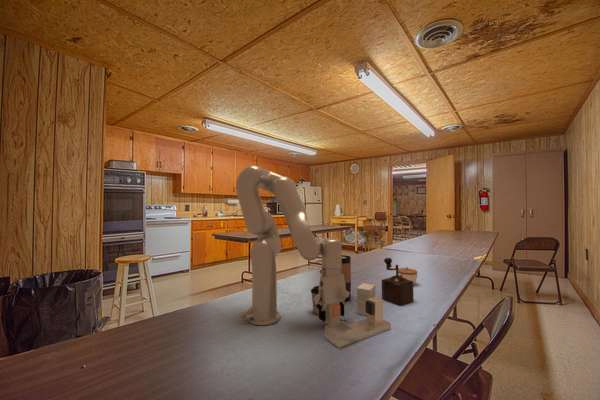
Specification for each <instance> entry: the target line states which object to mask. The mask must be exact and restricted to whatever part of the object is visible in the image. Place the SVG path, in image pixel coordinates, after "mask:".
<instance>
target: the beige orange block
mask: <svg viewBox="0 0 600 400" xmlns="http://www.w3.org/2000/svg"><path fill="white" fill-rule="evenodd" d="M324 310H325V311H326V321H325V322H324V323H325V325H328V324H332V323H335V322H338V321H341V319H340V317H341V315H340V304H339V303H335V304H331V305H326V307H325V309H324Z"/></svg>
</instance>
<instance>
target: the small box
mask: <svg viewBox="0 0 600 400" xmlns="http://www.w3.org/2000/svg"><path fill="white" fill-rule="evenodd" d="M373 297H375V298H376V285H375V284H371V283H366V282H365V283H364V282H362V283H361V284H360V285H359V286H358V287H357V288H356V310H357V311H356V313H357V314H359V315H364V316H367V313H366V301H367V299H369V298H373Z"/></svg>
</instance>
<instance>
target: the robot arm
mask: <svg viewBox="0 0 600 400" xmlns="http://www.w3.org/2000/svg"><path fill="white" fill-rule="evenodd" d="M237 176H238V177H237V178H236V182H235V190H236V194H237V197H238V201H239V205H240V210H241V213H242V214H241V215H242V217H243V220H244V224H245V228H246V230H247V232H248V233H249V234H250V235H253V236H256V239H257V240H255V241H254V242H253V243H252V245H251V247H250V261H251V262H250V263H251V282H252V284H251V287H252V288H251V289H252V290H251V297H252V298H251V302H252V303H251V306H250V307H249V309H247V311H241V312H239V318H240V319H242V318H245V319H246V320H247V321H248V322H249V323H250V324H252V325H255V326H269V325H274V324H275V323H276V324H277V323H278V322H279V321H280V320H281V318H282V317H281V313H280V312H279V311H277V309H278V306H277V305H278V303H277V301H278V296H277V295H278V292H277V291H278V290H277V286H278V285H277V284H278V283H277V282H278V281H277V279H278V278H277V273H278V272H277V263H276V257H277V256H278V255H279V254H280V252H281V250H282V241H281V238H280V235H279V230H278V227H277V224H276V221H275V219H274V217H273V215H272V213H270V212H268V211H266V210H265V209H264V205H263V201H262V197H261V195H260V194H259V192H258V191H259V190H258V189H261V190H263V191H266V192H269V193H271V194H274V196H275V199H276V201H277V203H278V205H279V207H280V210H281V211H282V214H283V216H284V218H285V221H286V225H287V227H288V231H289V234H290V236H291V238H292V240H293V243H294V245H295V247H296V249H297V251H298V253H299V255H300V256H301V257H302V258H303V259H304V260H306V261H315V260H316V259H317V258H318V257H319V256H321V269H320V270H319V274H320V277H319V281H318V282H319V283H318V286H319V294H318V295H317V296H316V297H315V298H314V299H313V302H312V304H313V303H314V304H315V306H316V307H317V308H318V309H319V314H318V318H319V320H320V321H322V322H323V323H325V321H326V311H325V310H324V309H325V307H326V305H331V304H335V303H339V304H340V317H345V306H346V304H347V302H346V301H347V300H348V296H349V294H350V292H348V291H347V290H346V286H345V279H344V275H343V274H342V255H343V253H342V251H343V249H342V248H343V247H342V246H343V244H342V241H341V239H340V238H336V237H326V238H324V237H318V236H317V237H316V236H314V234H313V232H312V229H311V226H310V224H309V222H308V213H307V208H306V207H305V205H304V203H303V201H302V199H301V197H300V195H299V193H298V190H297V188H298V187H297V184H296V182H295V181H294V180H293V179H292V178H290V177H289V176H285V175H281V174H278V173H275V172H273V171H270V170H269V169H265V168H264V167H262V166H259V165H255V164H254V165H252V164H251V165H248V166H246V167H245V168H243V169H242V170H241V171H240V173H239V174H238V175H237ZM318 301H320V303H318ZM323 303H324V304H323ZM322 304H323V306H322Z"/></svg>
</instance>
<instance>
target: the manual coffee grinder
mask: <svg viewBox="0 0 600 400" xmlns="http://www.w3.org/2000/svg"><path fill="white" fill-rule="evenodd" d="M383 262H384V264H385V265H386V266H385V268H386V270H387V271H395V275H393V276H391V277H387V278H383V279H381V300H383V301H384V302H387V303H390V304H393V305H396V306H400V307H401V306H404V305H408V304H411V303H414V299H415V298H414V284H413V281H411V280H408V279H406V278H403V277H402V276H403V275H401V276H399V275H398V269H399V265H398V264H395V268H394V267H393V266H392V262H393V259H392V258H391V257H385V258H384V259H383ZM391 267H393V268H391Z"/></svg>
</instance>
